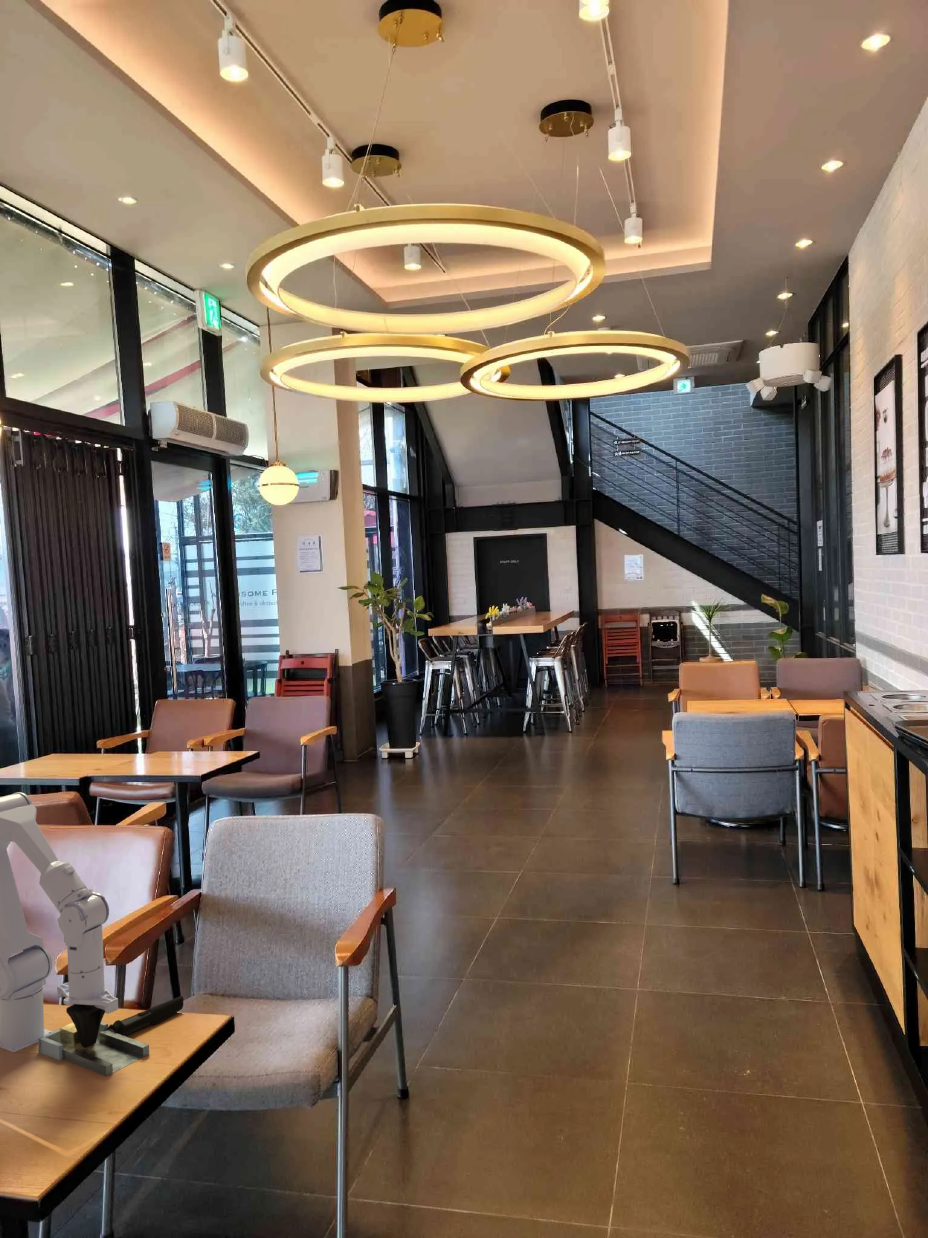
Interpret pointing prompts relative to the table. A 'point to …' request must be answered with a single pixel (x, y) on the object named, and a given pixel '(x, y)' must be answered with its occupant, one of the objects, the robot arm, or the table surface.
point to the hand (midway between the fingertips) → (88, 1045)
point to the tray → (58, 1043)
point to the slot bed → (107, 1053)
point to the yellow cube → (70, 1037)
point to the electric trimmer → (147, 1017)
